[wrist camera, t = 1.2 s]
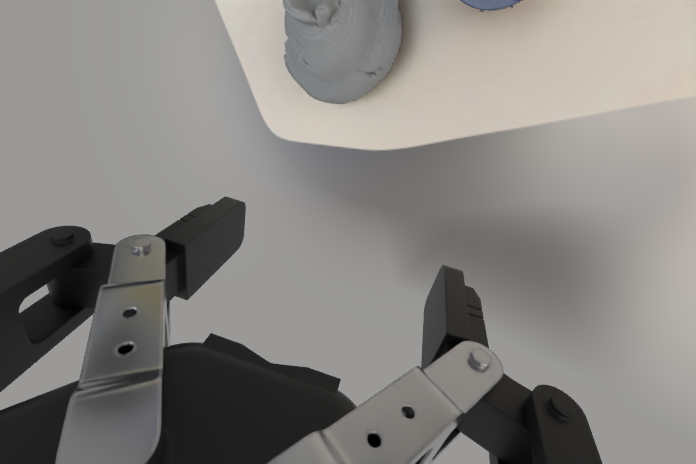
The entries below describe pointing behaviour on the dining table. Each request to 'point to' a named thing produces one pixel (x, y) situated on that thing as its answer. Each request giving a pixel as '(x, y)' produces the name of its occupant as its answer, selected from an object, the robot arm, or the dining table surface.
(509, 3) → the lid
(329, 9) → the grey clay mound
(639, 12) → the dining table surface
